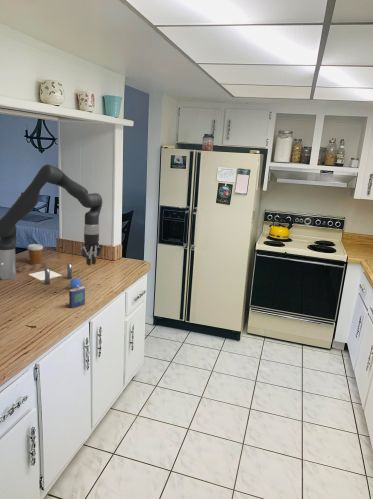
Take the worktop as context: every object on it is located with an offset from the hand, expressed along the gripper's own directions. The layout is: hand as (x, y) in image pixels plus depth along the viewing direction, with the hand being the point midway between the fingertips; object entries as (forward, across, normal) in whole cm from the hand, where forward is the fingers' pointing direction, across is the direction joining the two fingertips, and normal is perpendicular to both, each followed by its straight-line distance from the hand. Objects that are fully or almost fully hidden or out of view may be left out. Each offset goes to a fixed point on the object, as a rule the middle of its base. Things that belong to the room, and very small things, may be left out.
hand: (91, 264), depth 203 cm
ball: (+14, +1, -12) cm, 19 cm away
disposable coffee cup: (+17, -7, -66) cm, 69 cm away
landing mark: (+17, +1, -42) cm, 46 cm away
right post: (+17, -7, -28) cm, 34 cm away
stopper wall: (+17, +1, -56) cm, 59 cm away
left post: (+17, +8, -28) cm, 34 cm away
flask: (+17, +14, +7) cm, 23 cm away
